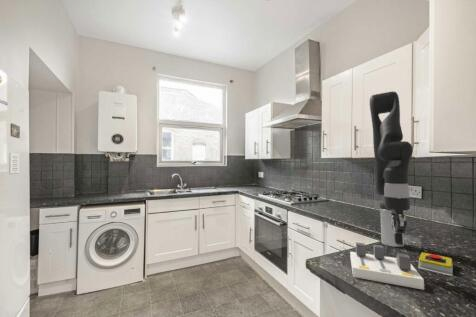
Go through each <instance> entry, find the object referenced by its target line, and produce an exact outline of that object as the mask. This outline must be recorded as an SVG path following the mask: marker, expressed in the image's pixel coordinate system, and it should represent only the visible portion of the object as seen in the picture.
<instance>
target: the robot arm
mask: <svg viewBox="0 0 476 317" xmlns="http://www.w3.org/2000/svg"><path fill="white" fill-rule="evenodd" d="M400 108H401V107H400V97H399V95H398V92H396V91H387V92H382V93H377V94H372V95H371V96H370V97H369V109H370V117H371V125H372V126H371V127H372V141H373V152H374V153H373V154H374V162H375V190H376V193H377V195H380V196H384V198H383V199H384V201H383V202H380V205H379V210H380V211H379V214H380V238H381V241H380V242H381V244H382V245H385V246H390V247H394V248H403V247H405V239H404V238H405V237H404V236H405V233H406V230H407V224H408V223H407V221H406V215H405V213H404V211H410V210H411V198H410V197H411V196H410V187H409V177H408V176H409V174H408V173H409V166H410V162H411V158H412V156H413V151H414V148H413V145H412V144H411V143H410V142H409V141H406V140H405V141H402V140H403V138H404V135H403V131H402V126H401V109H400ZM387 113H388V115H387V116H386V117H385V118H384V119H383V120H381V119H380V116H379V115H381V114H387ZM392 161H394V162H396V161H400V163H399V164H398V165H395V166H390V164H391V163H392ZM388 166H389V167H388Z"/></svg>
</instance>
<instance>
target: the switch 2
mask: <svg viewBox="0 0 476 317" xmlns="http://www.w3.org/2000/svg"><path fill="white" fill-rule="evenodd" d="M372 246H373V255H374V257H375V258H380V259H385V258H384V256H385V248H384V246H383V245H380V244H373V245H372Z"/></svg>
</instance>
